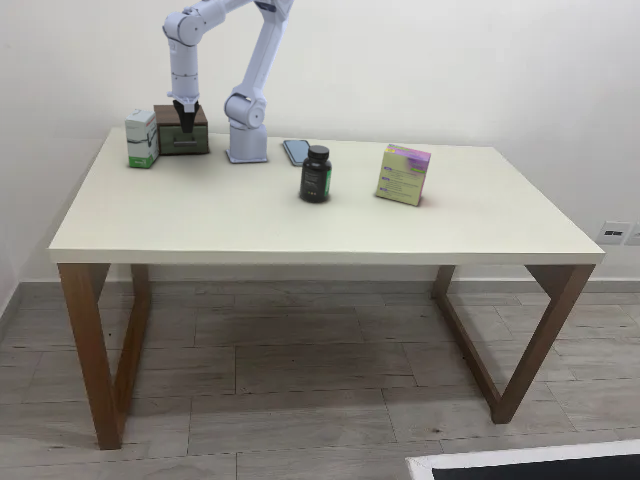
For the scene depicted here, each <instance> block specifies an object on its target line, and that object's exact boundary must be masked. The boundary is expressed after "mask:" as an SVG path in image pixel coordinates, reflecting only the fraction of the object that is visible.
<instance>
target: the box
mask: <svg viewBox="0 0 640 480" xmlns="http://www.w3.org/2000/svg"><path fill="white" fill-rule="evenodd" d="M431 156H432V153H431V152H428V151H427V152H426V151H423V150H418V149H414V148H409V147H405V146H400V145H396V144H393V143H389V144H388V145H387V146H386V149H384V152H383V156H382V161H381V164H380V165H381V166H380V172H379V176H378V182H377V187H376V193H375V196H377V197H381V198H385V199H388V200H393V201H397V202H401V203H404V204H407V205H412V206H415V207H417V206H418V205H419V203H420V200H421V197H422V193H423V189H424V186H425V181H426V177H427V173H428V169H429V165H430V161H431Z"/></svg>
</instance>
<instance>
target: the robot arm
mask: <svg viewBox="0 0 640 480" xmlns="http://www.w3.org/2000/svg"><path fill="white" fill-rule="evenodd" d="M294 1H295V0H199V1H198V2H196V3H194V4H193V5H191V6H188V5H186V6H184V7H183V10H182V11H181V12H180V11H172V12H170V13H169V14H168V15H167V16H166V17H165V19H164V23H163V25H162V26H161V30H162V32H163V35H164V36H165V37H166V38H167V43H168V48H169V61H170V77H171V78H170V79H171V80H170V81H171V90H170V91H166V97H167V98H173V100H172V105H174V108H175V110H176V111H177V113H178V116H179V119H180V124H181V128H182V131H183V133H192V131H193V127H194V121H195V117H196V114H197V112H198V110H199V107H200V105H201V104H199V103H200V101H199V99H200V97H201V96H200V95H201V94H200V91H199V90H200V89H199V61H198V60H199V59H198V44H200V42H201V40H202V39H203V36H204V35H205V34H206V33H208V32H209V31H211V30H213V29H214V28H216V27H218V26H219V25H221V24H223V23H224V22H225V21H226V18H227V14H229V13H232V12H233V11H235V10H237V9H239V8H241V7H244V6H245V5H247V4H250V3H252V2H253V3H254V5H255V7H256V8H257V10H258V11H259V12H260V14H261V16H262V19H263V22H262V23H263V24H262V25H261V29H260V31H259V35H258V37H257V40H256V43H255V46H254V48H253V51H252V54H251V57H250V60H249V62H248V65H247V67H246V71H245V73H244V76H243V79H242V81H241V83H239V84H237V85H236V86H234V87H232V89H231V93H230V94H229V95H228V96H227V98H226V99H225V101H224V104H223V112H224V114H225V115H224V116H226V117H227V118H228V120H227V121H228V122H229V148H227V149H225V152H226V154H227V156H228V158H229V161H230V163H231V164H239V163H240V164H242V163H263V162H265V163H266V162H268V158H267V151H268V129H267V127H266V124H265V123H263V122H264V120H265V116H266V109H267V108H266V107H267V105H268V100H267V98H266V96H265V93H264V89H265V87H266V83H267V81H268V78H269V76H270V73H271V70H272V68H273V66H274V65H273V64H274V62H275V59H276V57H277V54H278V51H279V48H280V46H281V43H282V41H283V38H284V35H285V32H286V30H287V28H288V24H289V19H290V13H291V10H292V8H293V4H294Z"/></svg>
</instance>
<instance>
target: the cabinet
mask: <svg viewBox="0 0 640 480" xmlns="http://www.w3.org/2000/svg"><path fill="white" fill-rule="evenodd" d="M199 105H200V107H199V110H198V112H197V114H196V117H195V121H194V125H202V126H206V135H207V152H188V153H162V152H161V141H160V128H159V127H160V126H179V125H181V124H180V119H179V116H178V113H177V111H176V110H175V108H174V105H173V104H153V111H154V112H155V115H156V130H157V143H158V156H166V155H167V156H168V155H191V154H209V153H210V151H209V121H208V118H207V116H206V114H205V112H204V108H203V106H202V104H199Z"/></svg>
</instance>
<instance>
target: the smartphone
mask: <svg viewBox="0 0 640 480" xmlns="http://www.w3.org/2000/svg"><path fill="white" fill-rule="evenodd" d="M282 144H283V146H284V149H285V151H286V152H287V154H288V157H289V158H290V160H291V162H292V165H294V166H297V167H298V166H299V167H300V166H301V167H302V163H303V161H304V159H305V158H307V157H308V156H307V153H308V148H309V147H310V146H311V144H310V142H309V141H308V140H307V139H284V140H283V141H282Z"/></svg>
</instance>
